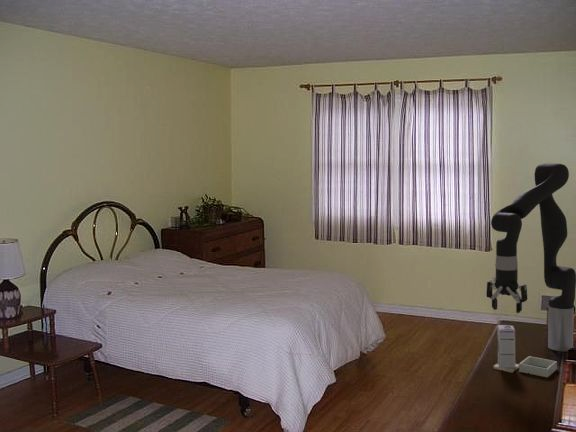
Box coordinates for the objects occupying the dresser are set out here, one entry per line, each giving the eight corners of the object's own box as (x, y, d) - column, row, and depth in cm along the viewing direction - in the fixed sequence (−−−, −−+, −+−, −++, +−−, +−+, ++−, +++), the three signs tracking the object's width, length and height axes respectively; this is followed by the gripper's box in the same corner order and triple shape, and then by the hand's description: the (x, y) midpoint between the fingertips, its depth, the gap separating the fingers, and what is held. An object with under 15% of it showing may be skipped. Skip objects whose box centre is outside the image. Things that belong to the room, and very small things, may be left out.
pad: (501, 363, 231) (501, 360, 231) (519, 367, 226) (519, 364, 226) (493, 368, 226) (493, 365, 226) (512, 372, 221) (512, 369, 221)
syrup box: (515, 368, 223) (516, 329, 221) (498, 367, 224) (499, 328, 222) (513, 362, 228) (513, 324, 227) (496, 362, 229) (497, 324, 228)
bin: (529, 363, 229) (529, 356, 229) (556, 369, 223) (556, 361, 222) (519, 371, 222) (519, 363, 222) (547, 377, 215) (547, 369, 215)
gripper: (530, 267, 220) (530, 311, 222) (491, 263, 229) (491, 305, 231) (522, 271, 214) (522, 316, 216) (483, 267, 224) (483, 310, 226)
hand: (506, 310), depth 224 cm, fingers open, 8 cm apart
